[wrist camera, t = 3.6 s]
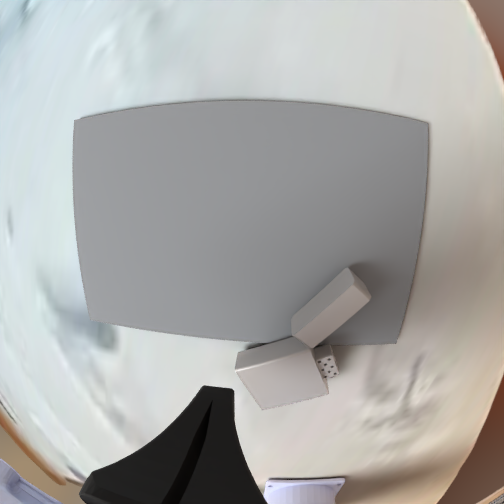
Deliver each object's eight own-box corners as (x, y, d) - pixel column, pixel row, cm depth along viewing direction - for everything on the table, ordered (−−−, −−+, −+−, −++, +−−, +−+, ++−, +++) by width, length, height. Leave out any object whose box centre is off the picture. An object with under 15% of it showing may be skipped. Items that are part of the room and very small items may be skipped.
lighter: (264, 392, 18) (381, 357, 16) (263, 411, 16) (388, 375, 14) (215, 311, 15) (357, 262, 14) (209, 330, 14) (367, 277, 12)
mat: (393, 340, 16) (396, 343, 15) (93, 317, 17) (90, 319, 17) (424, 124, 12) (427, 123, 12) (78, 120, 14) (74, 120, 13)
